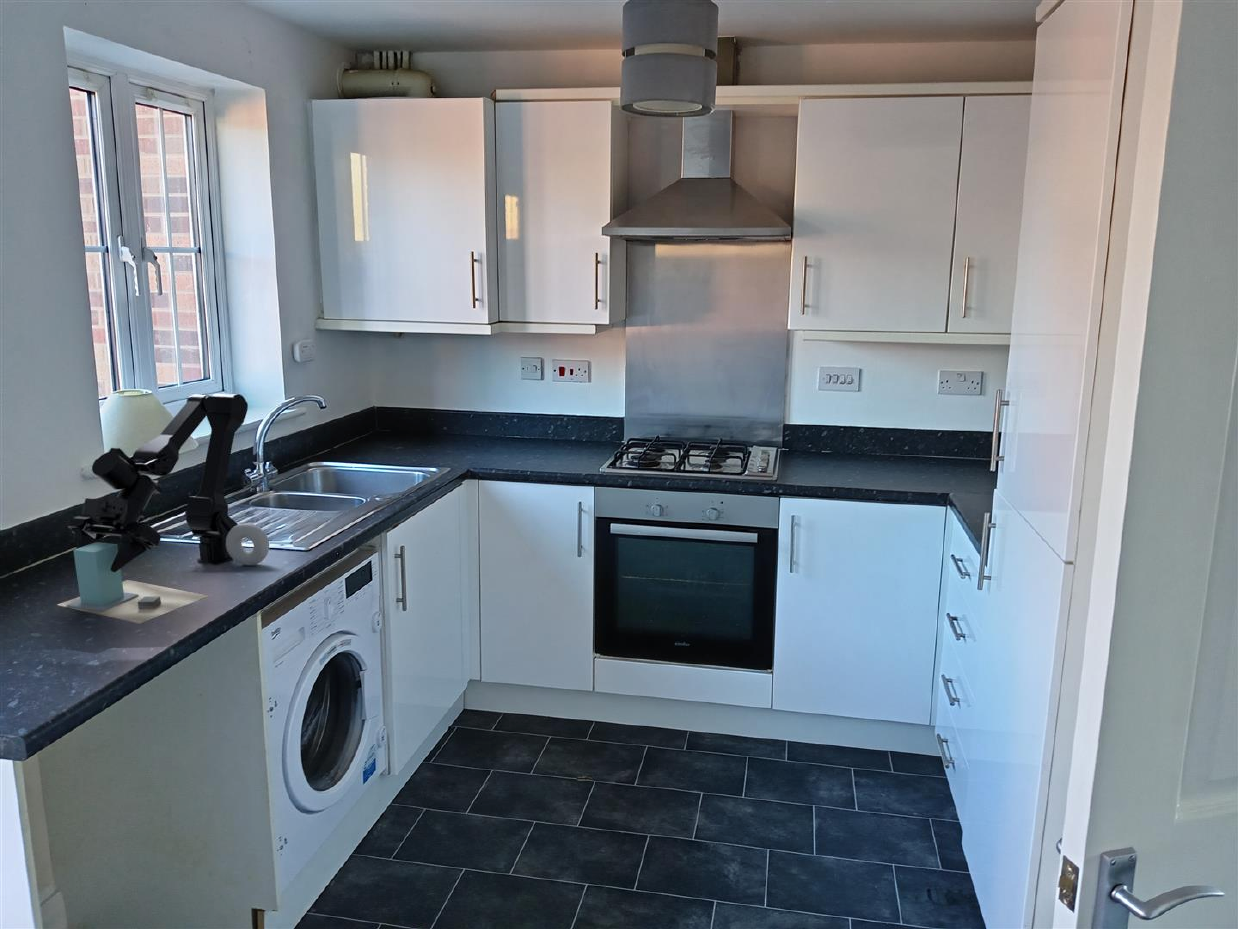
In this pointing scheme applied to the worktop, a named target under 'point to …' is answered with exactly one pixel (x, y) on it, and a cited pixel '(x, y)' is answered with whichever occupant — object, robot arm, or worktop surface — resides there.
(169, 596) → the board
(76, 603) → the coaster
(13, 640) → the worktop surface
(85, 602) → the tall teal block
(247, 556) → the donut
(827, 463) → the worktop surface
